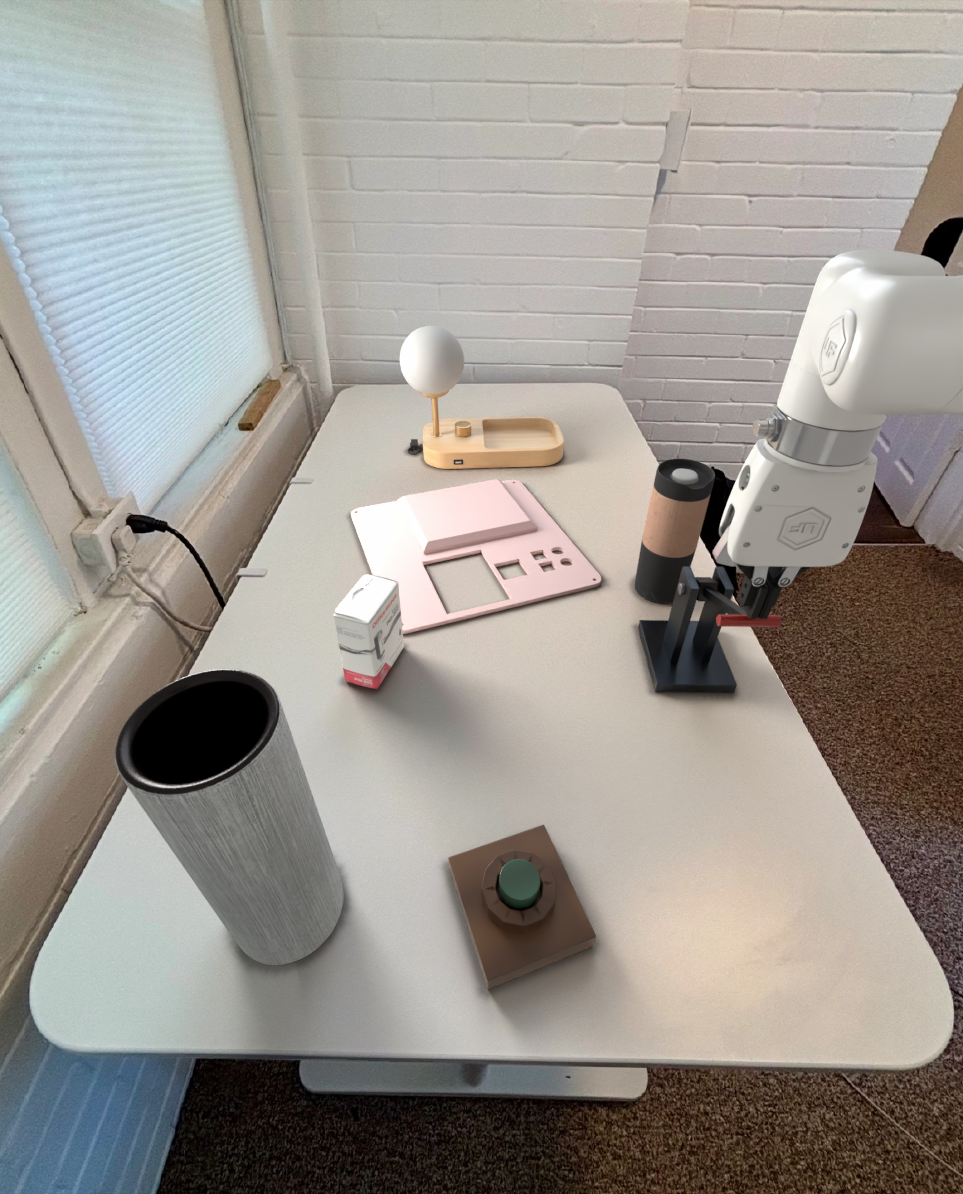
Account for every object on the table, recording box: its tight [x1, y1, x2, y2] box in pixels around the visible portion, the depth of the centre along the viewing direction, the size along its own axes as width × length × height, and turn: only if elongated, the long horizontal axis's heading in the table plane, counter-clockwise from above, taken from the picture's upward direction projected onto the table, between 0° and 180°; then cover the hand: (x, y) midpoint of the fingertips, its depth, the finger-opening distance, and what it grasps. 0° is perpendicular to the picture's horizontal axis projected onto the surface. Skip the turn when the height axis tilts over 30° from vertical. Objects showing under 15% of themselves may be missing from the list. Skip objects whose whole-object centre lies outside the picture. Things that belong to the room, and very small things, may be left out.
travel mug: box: [634, 458, 716, 604], centre depth 84 cm, size 8×8×20 cm
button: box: [499, 859, 540, 909], centre depth 52 cm, size 4×4×2 cm
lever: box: [695, 576, 782, 628], centre depth 66 cm, size 15×6×2 cm, turn 179°
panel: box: [350, 478, 602, 635], centre depth 99 cm, size 35×33×2 cm
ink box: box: [332, 573, 405, 690], centre depth 75 cm, size 9×5×12 cm, turn 161°
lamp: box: [399, 325, 565, 470], centre depth 119 cm, size 33×17×25 cm, turn 93°
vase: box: [114, 668, 345, 966], centre depth 46 cm, size 10×10×27 cm
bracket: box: [637, 566, 738, 694], centre depth 75 cm, size 12×10×14 cm
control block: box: [448, 824, 597, 990], centre depth 54 cm, size 11×10×4 cm
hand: (752, 609), depth 58 cm, fingers closed
